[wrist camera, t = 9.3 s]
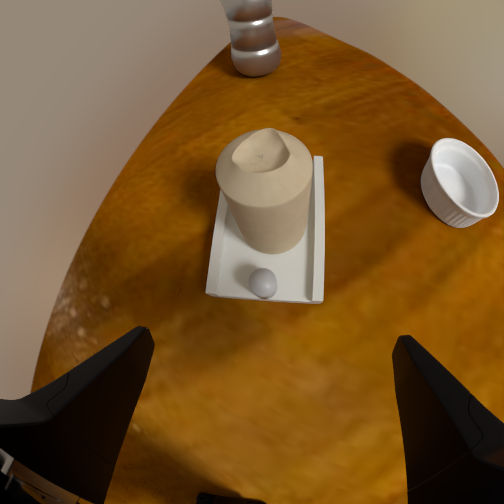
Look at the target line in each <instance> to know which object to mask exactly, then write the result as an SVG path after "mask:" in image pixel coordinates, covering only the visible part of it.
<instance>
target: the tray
mask: <svg viewBox="0 0 504 504" xmlns="http://www.w3.org/2000/svg"><path fill="white" fill-rule="evenodd" d="M312 163H313V171H312V181H311V190H310V199H309V208H308V216H307V223H306V229H305V232H304V235H303V237H302V238H301V240H300V241H299V243H298V244H297V245H296V246H295V247H293V248H292V249H291V250H289V251H287V252H284V253H281V254H265V253H261V252H259V251H257V250H255V249H254V248H252V247H251V246H250V245H249V244H248V243H247V242H246V241H245V239H244V237H243V236H242V234H241V232H240V230H239V227H238V225H237V223H236V221H235V219H234V217H233V215H232V213H231V210H230V208H229V206H228V204H227V202H226V200H225V198H224V195H223V193H222V191H221V190H220V196H219V202H218V208H217V215H216V221H215V228H214V234H213V241H212V248H211V255H210V262H209V270H208V277H207V285H206V294H208V295H210V296H213V297H224V298H235V299H248V300H261V301H276V302H292V303H312V304H321V303H322V302H323V289H324V253H325V212H324V176H323V156H314V161H312Z"/></svg>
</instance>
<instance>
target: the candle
mask: <svg viewBox="0 0 504 504" xmlns="http://www.w3.org/2000/svg"><path fill="white" fill-rule="evenodd" d="M312 171H313V163H312V158H311V155H310V153H309V151H308V149H307V148H306V147H305V145H304V144H303V143H302V142H301V141H300V140H298V139H297V138H295V137H294V136H292V135H290V134H287V133H285V132H281V131H277V130H275V129H273V128H266V129H262V130H255V131H251V132H248V133H245V134H243V135H241V136H239V137H238V138H236V139H234V140H233V141H232V142H230V143H229V144H228V145H227V146H226V147H225V148H224V150H223V151H222V152H221V154H220V156H219V158H218V160H217V164H216V179H217V182H218V184H219V187H220V189H221V191H222V193H223V195H224V198H225V200H226V202H227V204H228V206H229V208H230V210H231V213H232V215H233V217H234V219H235V221H236V223H237V225H238V227H239V230H240V232H241V234H242V236H243V237H244V239H245V241H246V242H247V243H248V244H249V245H250V246H251V247H252V248H254V249H255V250H257V251H259V252H261V253H265V254H281V253H284V252H287V251H289V250H291V249H292V248H293V247H295V246H296V245H297V244H298V243H299V241H300V240H301V238H302V237H303V235H304V232H305V229H306V223H307V216H308V208H309V199H310V190H311V181H312Z"/></svg>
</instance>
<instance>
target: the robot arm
mask: <svg viewBox="0 0 504 504" xmlns="http://www.w3.org/2000/svg"><path fill="white" fill-rule="evenodd" d="M154 346H155V345H154V341H153V338H152V336H151V333H150V331H149V329H148V328H147V327H142V326H137V327H135V328H134V329H132V330H131V331H129V332H128V333H126V334H125V335H123V336H122V337H120V338H119V339H117V340H116V341H114V342H113V343H111V344H110V345H108V346H107V347H105V348H104V349H102V350H101V351H99V352H97V353H96V354H94V355H93V356H91V357H90V358H88V359H87V360H85V361H84V362H82V363H81V364H79V365H78V366H76V367H75V368H73V369H72V370H70V372H67V373H65V374H64V375H62V376H61V377H59V378H58V379H56V380H54V381H53V382H51V383H49V384H48V385H46V386H44V387H42V388H40V389H38V390H36V391H35V392H33V393H31V394H29V395H27V396H25V397H23V398H21V399H17V400H4V399H0V504H79V503H78V500H79V498H82V499H84V500H87V501H89V502H91V503H93V504H104V501H105V497H106V494H107V491H108V487H109V484H110V481H111V478H112V474H113V471H114V468H115V464H116V461H117V458H118V455H119V452H120V449H121V446H122V443H123V441H124V438H125V435H126V432H127V429H128V426H129V423H130V421H131V418H132V415H133V412H134V410H135V407H136V404H137V402H138V399H139V396H140V394H141V391H142V388H143V386H144V383H145V380H146V377H147V373H148V369H149V366H150V362H151V358H152V355H153V351H154ZM392 360H393V370H394V381H395V392H396V399H397V405H398V410H399V416H400V423H401V429H402V437H403V444H404V453H405V463H406V475H407V490H408V492H407V494H408V504H504V423H503V422H502V421H500V420H499V419H498V418H497V417H496V416H494V415H493V414H492V413H491V412H490V411H489V410H488V409H487V408H485V407H484V406H483V405H482V404H481V403H480V402H479V401H478V400H477V399H476V398H475V397H474V396H473V395H472V394H470V392H469V391H468V390H467V389H466V388H465V387H464V386H463V385H462V384H461V383H460V382H459V381H458V380H457V379H456V378H455V377H454V376H453V375H452V374H451V373H450V372H449V371H448V370H447V369H446V368H445V367H444V366H443V365H442V364H441V363H440V362H439V361H438V360H436V359H435V358H434V357H433V356H432V355H431V354H430V353H429V352H428V351H427V350H426V349H425V348H424V347H423V346H422V345H420V344H419V343H418V342H417V341H416V340H415V339H414V338H413V337H412V336H410V335H402V336H399V337H398V339H397V342H396V345H395V347H394V350H393V353H392ZM201 496H203V497H204V498H202V497H201ZM197 504H266V503H261V502H253V501H245V500H239V499H233V498H227V497H222V496H216V495H211V494H207V493H199V494H198V495H197Z"/></svg>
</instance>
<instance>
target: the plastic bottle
mask: <svg viewBox="0 0 504 504" xmlns="http://www.w3.org/2000/svg"><path fill="white" fill-rule="evenodd" d="M220 1H221V3H222V5H223V8H224V11H225V14H226V17H227V18H228V24H229V29H230V37H231V45H232V46H231V59H232V62H233V64H234V66H235V69H236V70H237V71H238V72H240V73H241V74H243V75H246V76H263V75H266V74H269V73H271V72H273V71H274V70H275V69H276V68H277V67H278V66H279V64H280V59H281V51H280V47H279V43H278V41H277V38H276V34H275V29H274V24H273V16H272V0H220Z"/></svg>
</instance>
